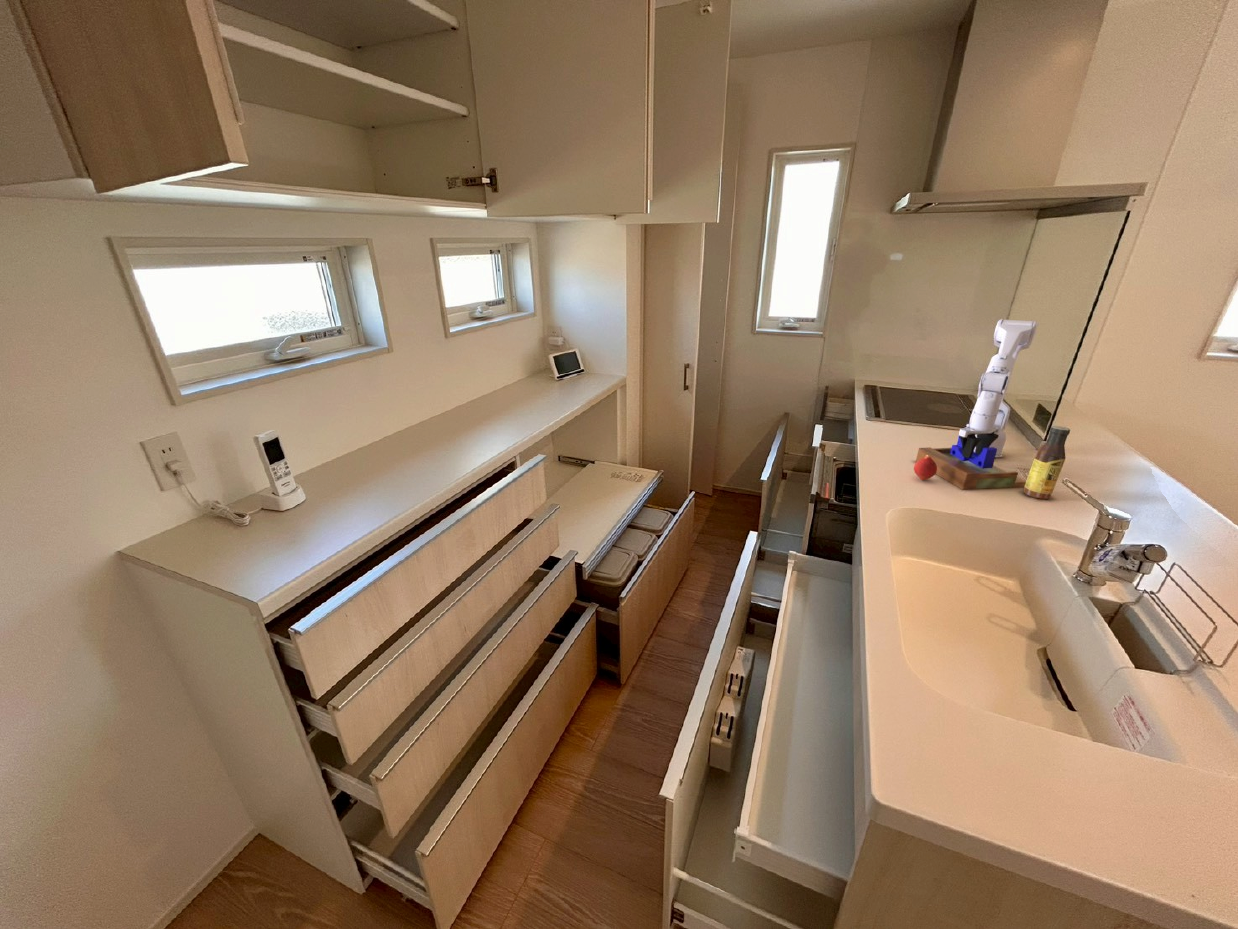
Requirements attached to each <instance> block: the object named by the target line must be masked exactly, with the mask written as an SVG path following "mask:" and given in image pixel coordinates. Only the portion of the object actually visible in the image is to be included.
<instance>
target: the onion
mask: <svg viewBox="0 0 1238 929" xmlns="http://www.w3.org/2000/svg"><path fill="white" fill-rule="evenodd" d="M913 471H914V474H915V475H916V476H917V477H918V478H919V480H921V481H925V480H929V479H931V478H934V476H935V475H937V474H936V472H937V466H936V463H935V462H934V461H933V460H932V459H931V458H930V456H929V455H926V457H925V458H922V459H920V460H918V461H917V462H916V461H915V463H914V466H913Z"/></svg>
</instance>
